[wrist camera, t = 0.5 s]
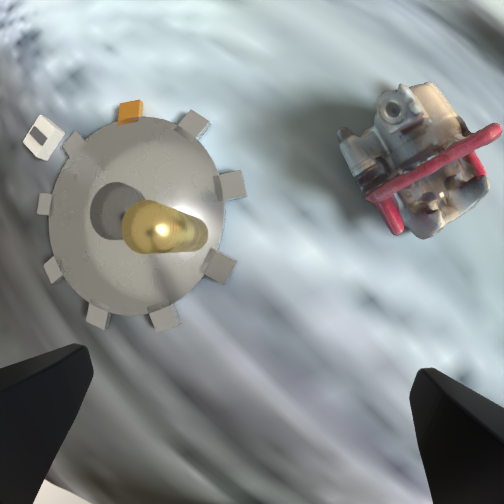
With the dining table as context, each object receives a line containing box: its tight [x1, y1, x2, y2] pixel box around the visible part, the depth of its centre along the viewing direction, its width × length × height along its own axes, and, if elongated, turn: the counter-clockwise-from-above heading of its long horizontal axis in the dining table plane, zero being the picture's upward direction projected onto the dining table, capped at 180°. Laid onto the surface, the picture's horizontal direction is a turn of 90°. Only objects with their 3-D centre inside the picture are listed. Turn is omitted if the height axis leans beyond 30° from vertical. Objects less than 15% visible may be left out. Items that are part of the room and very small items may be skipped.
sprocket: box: [37, 100, 247, 333], centre depth 18 cm, size 18×18×9 cm
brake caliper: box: [337, 82, 502, 239], centre depth 18 cm, size 11×11×12 cm
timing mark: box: [23, 114, 65, 161], centre depth 23 cm, size 3×3×2 cm
